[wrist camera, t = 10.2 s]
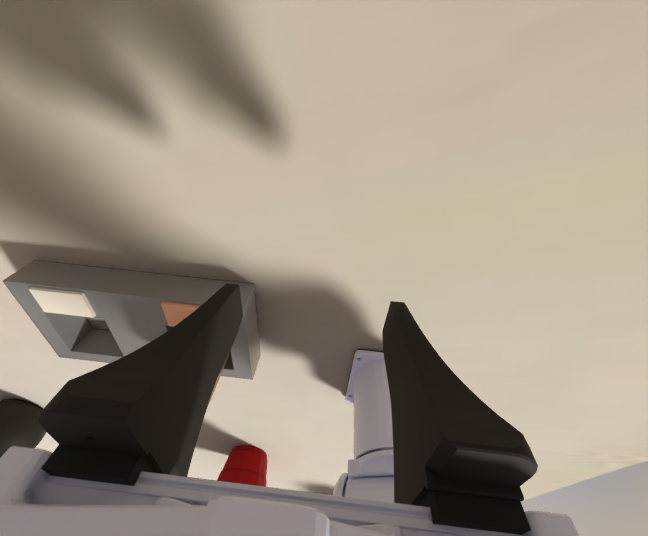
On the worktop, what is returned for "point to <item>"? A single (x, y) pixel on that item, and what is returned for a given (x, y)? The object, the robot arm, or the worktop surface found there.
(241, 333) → the socket block
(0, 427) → the cola bottle
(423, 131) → the worktop surface
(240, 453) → the plastic cup
